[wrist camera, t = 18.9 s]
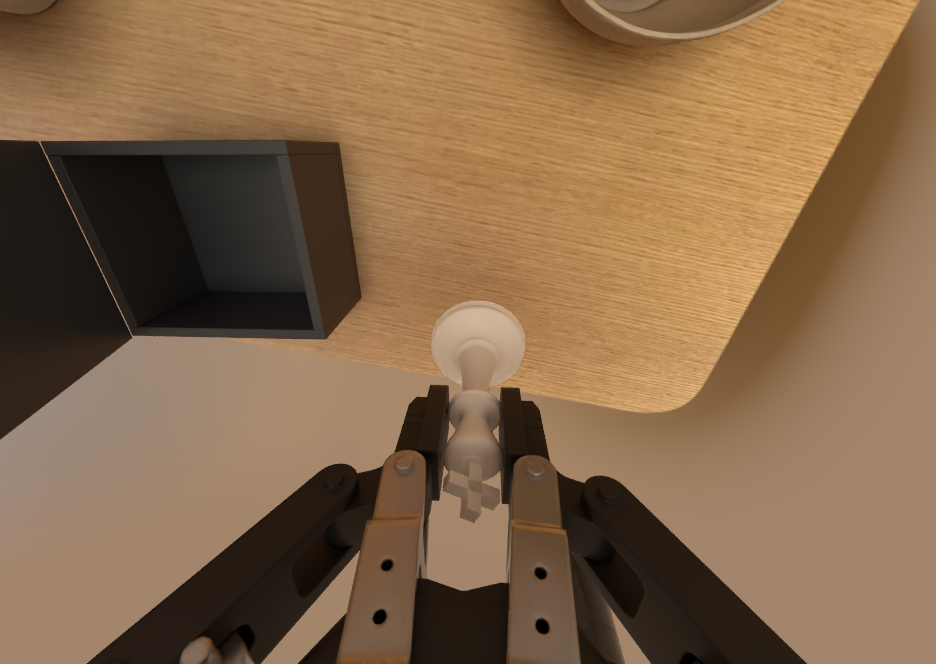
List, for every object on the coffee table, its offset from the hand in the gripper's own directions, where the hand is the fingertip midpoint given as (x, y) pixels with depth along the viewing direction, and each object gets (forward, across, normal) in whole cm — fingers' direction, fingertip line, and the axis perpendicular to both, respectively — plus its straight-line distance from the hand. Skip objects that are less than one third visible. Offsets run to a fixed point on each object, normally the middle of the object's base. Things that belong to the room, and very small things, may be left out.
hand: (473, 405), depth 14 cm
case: (+21, +20, -3) cm, 29 cm away
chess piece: (+5, 0, 0) cm, 5 cm away
